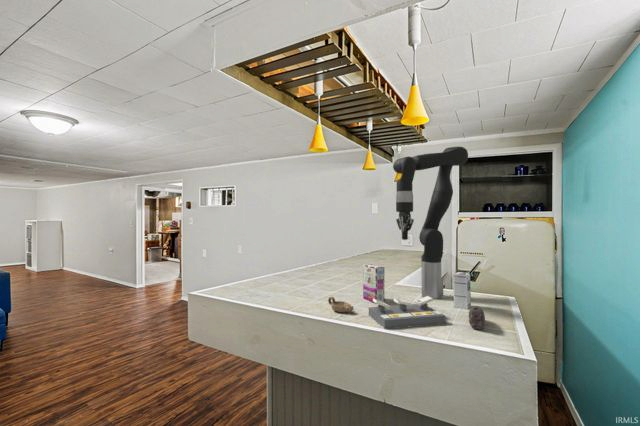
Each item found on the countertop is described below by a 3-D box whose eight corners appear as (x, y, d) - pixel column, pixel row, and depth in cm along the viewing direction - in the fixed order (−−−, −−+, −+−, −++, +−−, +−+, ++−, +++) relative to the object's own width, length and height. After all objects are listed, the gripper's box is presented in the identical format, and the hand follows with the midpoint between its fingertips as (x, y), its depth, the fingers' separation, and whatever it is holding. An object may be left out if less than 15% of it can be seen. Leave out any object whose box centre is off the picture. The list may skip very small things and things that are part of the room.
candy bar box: (385, 302, 147) (385, 266, 147) (376, 304, 145) (375, 267, 145) (371, 297, 157) (371, 263, 157) (362, 298, 155) (362, 264, 155)
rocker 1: (385, 306, 126) (386, 303, 126) (389, 308, 123) (390, 306, 123) (372, 300, 125) (373, 298, 125) (375, 303, 122) (377, 300, 122)
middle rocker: (407, 303, 128) (407, 300, 128) (411, 305, 125) (412, 303, 125) (393, 301, 127) (394, 298, 127) (397, 303, 124) (398, 300, 124)
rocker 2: (428, 298, 130) (427, 295, 130) (433, 300, 127) (432, 298, 127) (415, 303, 129) (414, 300, 129) (419, 305, 125) (419, 303, 125)
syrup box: (467, 309, 136) (467, 275, 136) (453, 306, 140) (453, 273, 140) (471, 306, 141) (470, 273, 141) (456, 303, 144) (456, 271, 144)
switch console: (422, 310, 134) (422, 298, 134) (445, 323, 119) (445, 309, 119) (368, 314, 129) (368, 302, 129) (384, 328, 114) (384, 314, 114)
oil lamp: (357, 312, 133) (357, 300, 133) (345, 316, 128) (345, 304, 128) (335, 306, 143) (335, 294, 143) (323, 309, 138) (323, 297, 138)
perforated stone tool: (469, 318, 125) (469, 300, 125) (484, 320, 122) (484, 302, 122) (468, 331, 111) (468, 311, 111) (485, 333, 109) (485, 313, 109)
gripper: (419, 200, 140) (419, 240, 140) (405, 202, 153) (405, 238, 153) (403, 200, 138) (403, 241, 138) (390, 202, 151) (390, 238, 151)
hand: (404, 239), depth 146 cm, fingers closed
